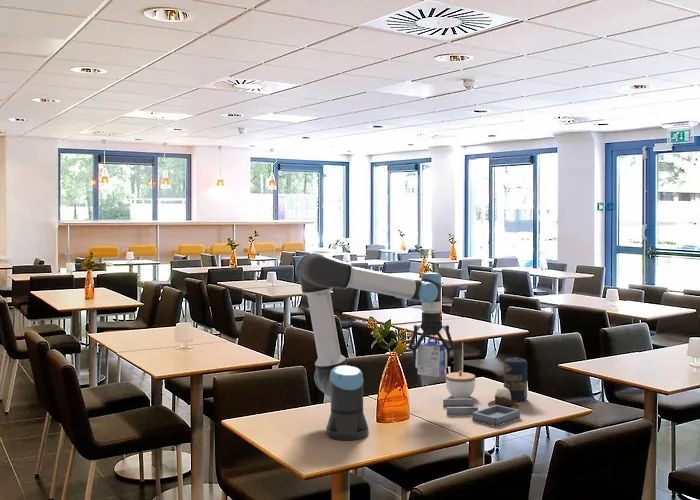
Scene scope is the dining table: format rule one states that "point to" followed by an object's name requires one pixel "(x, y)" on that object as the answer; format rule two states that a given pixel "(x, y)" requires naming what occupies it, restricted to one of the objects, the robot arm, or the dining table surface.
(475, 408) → the dock rails
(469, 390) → the lidded bowl
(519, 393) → the canister
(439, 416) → the dining table surface
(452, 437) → the dining table surface
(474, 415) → the tray
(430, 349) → the ink cartridge box
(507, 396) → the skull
